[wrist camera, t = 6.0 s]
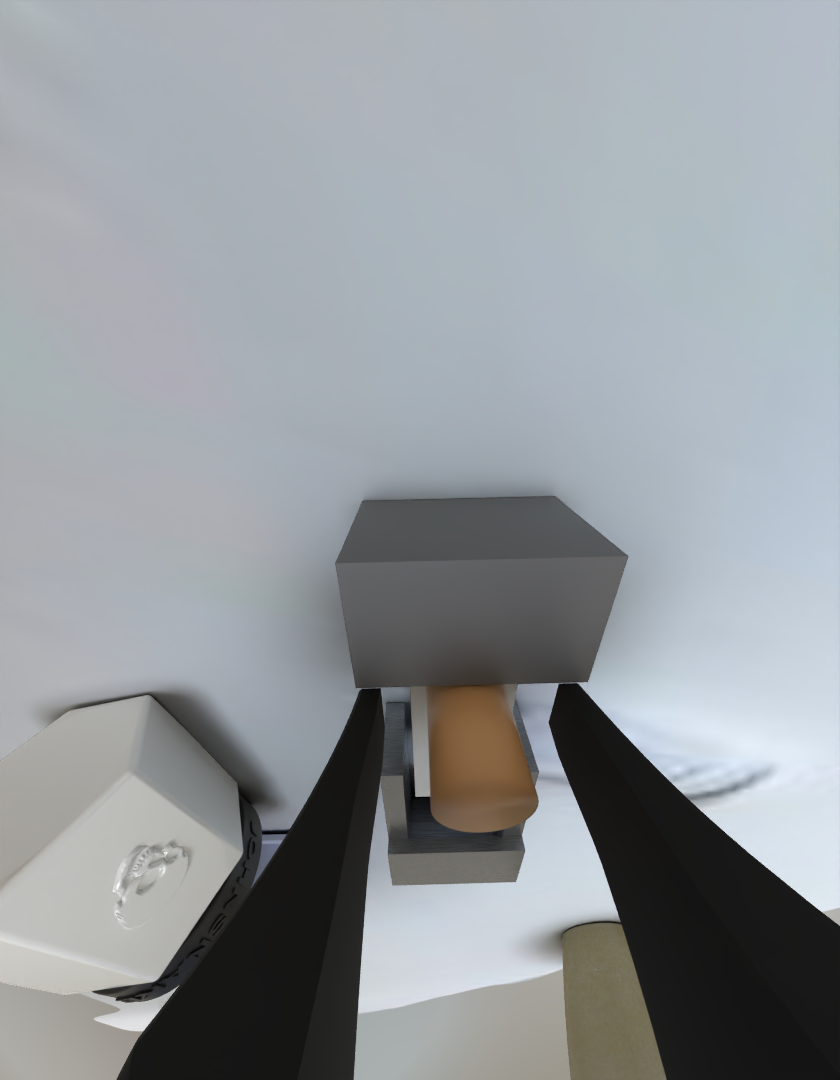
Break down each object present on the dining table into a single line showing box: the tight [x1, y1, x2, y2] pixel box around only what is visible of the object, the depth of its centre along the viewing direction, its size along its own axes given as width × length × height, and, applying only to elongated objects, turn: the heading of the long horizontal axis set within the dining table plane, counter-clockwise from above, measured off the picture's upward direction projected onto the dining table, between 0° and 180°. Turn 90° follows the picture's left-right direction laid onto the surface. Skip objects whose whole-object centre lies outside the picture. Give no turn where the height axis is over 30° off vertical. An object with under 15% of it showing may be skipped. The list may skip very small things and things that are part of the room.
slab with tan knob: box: [410, 684, 539, 833], centre depth 12 cm, size 13×4×7 cm, turn 1°
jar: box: [0, 695, 262, 1003], centre depth 16 cm, size 9×8×12 cm
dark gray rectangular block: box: [335, 496, 628, 688], centre depth 11 cm, size 4×7×4 cm, turn 91°
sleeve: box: [380, 700, 539, 885], centre depth 18 cm, size 11×7×4 cm, turn 1°
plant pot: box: [562, 923, 667, 1080], centre depth 28 cm, size 15×15×16 cm
